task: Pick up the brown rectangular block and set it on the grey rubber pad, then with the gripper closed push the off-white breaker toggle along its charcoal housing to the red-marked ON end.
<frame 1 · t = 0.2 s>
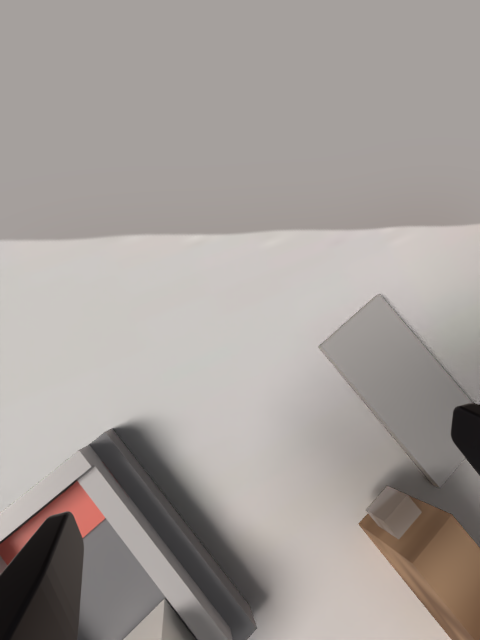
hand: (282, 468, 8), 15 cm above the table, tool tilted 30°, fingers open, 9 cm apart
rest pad: (403, 386, 25), on the table
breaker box: (114, 575, 19), on the table
brown rectangular block: (424, 567, 22), on the table
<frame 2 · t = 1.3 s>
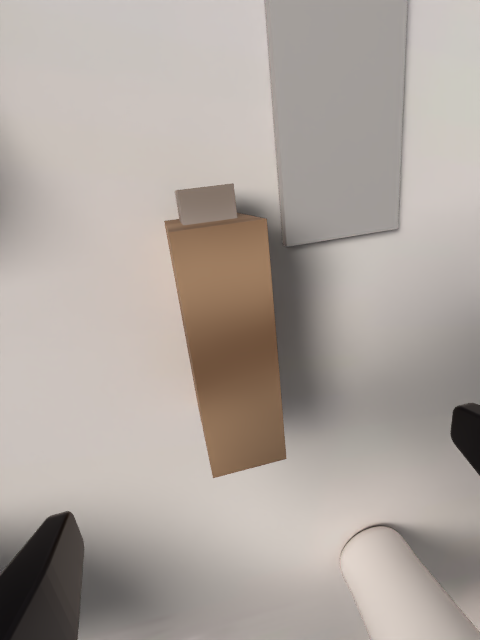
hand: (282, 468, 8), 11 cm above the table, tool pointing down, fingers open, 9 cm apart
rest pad: (335, 101, 16), on the table
drinking glass: (366, 546, 27), on the table
brown rectangular block: (213, 316, 18), on the table
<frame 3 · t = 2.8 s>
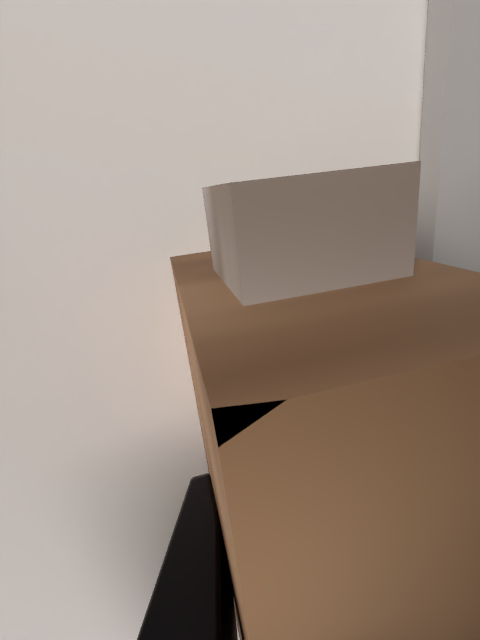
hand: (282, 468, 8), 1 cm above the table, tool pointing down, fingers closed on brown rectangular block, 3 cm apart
brown rectangular block: (267, 440, 9), on the table, touching gripper
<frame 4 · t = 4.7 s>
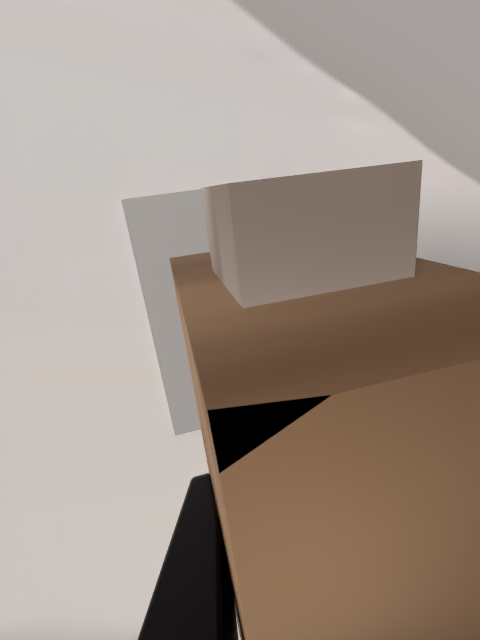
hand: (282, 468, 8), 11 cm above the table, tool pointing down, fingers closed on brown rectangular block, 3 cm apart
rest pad: (212, 316, 18), on the table
brown rectangular block: (267, 441, 9), point 9 cm above the table, touching gripper
when the fingers open (3 cm above the table, at t = 6.3 s): brown rectangular block stays where it is, resting on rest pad.
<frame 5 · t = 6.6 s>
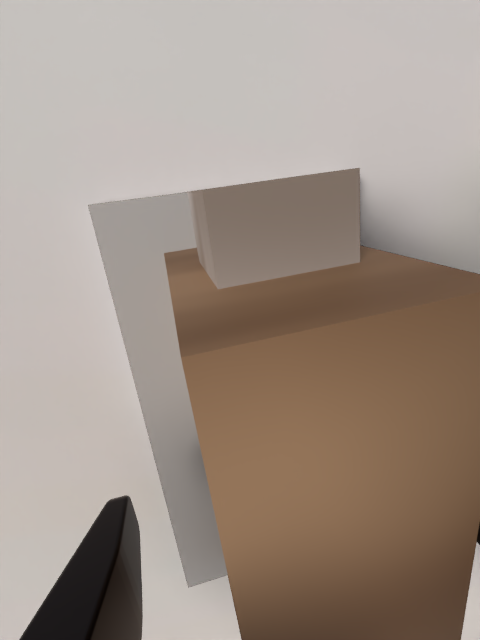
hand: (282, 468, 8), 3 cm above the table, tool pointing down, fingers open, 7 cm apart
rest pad: (252, 402, 10), on the table
brown rectangular block: (257, 419, 10), point 1 cm above the table, touching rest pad
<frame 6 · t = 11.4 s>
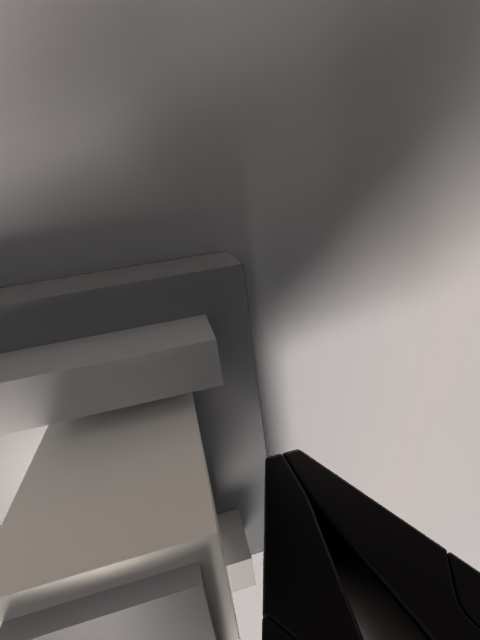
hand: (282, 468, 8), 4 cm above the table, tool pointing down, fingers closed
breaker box: (28, 441, 10), on the table
toggle: (140, 544, 7), point 4 cm above the table, slide at 0.2 cm, touching gripper
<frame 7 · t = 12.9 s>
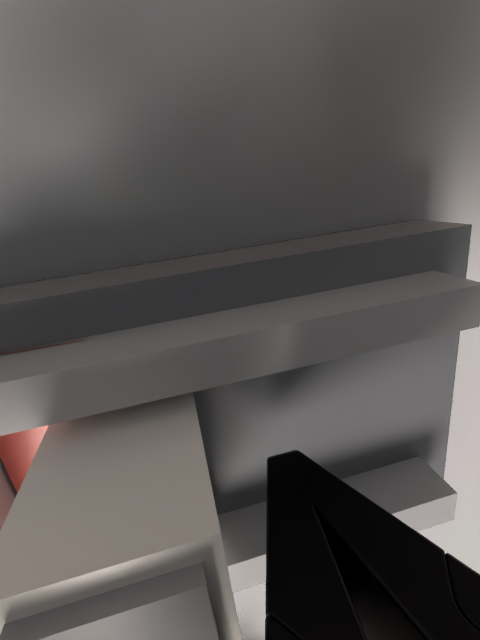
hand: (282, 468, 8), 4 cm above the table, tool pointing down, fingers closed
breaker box: (227, 395, 11), on the table
toggle: (141, 545, 7), point 4 cm above the table, slide at 6.0 cm, touching gripper
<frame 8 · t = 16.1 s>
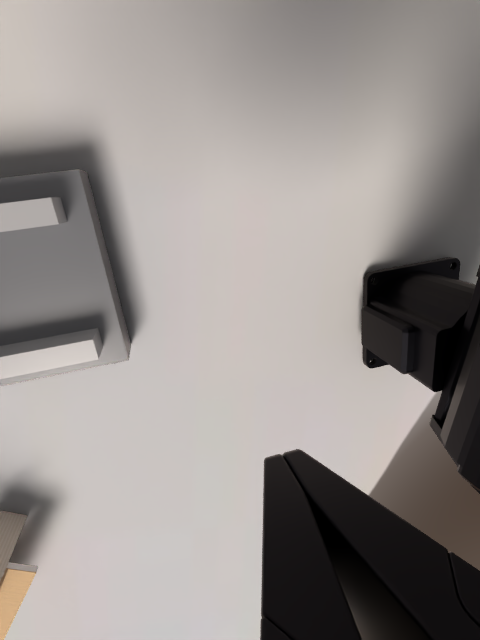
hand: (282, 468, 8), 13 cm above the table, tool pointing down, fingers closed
architectural model: (1, 537, 23), on the table
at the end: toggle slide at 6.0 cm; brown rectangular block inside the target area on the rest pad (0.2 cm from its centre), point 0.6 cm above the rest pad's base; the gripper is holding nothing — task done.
